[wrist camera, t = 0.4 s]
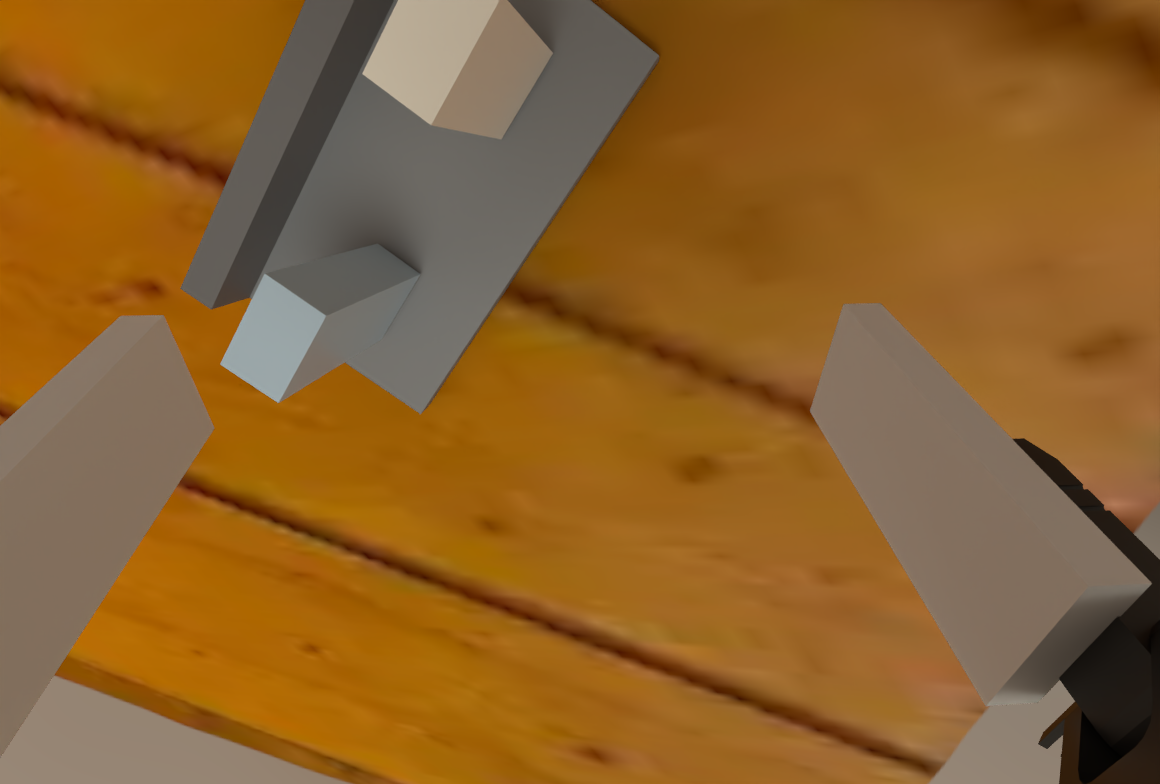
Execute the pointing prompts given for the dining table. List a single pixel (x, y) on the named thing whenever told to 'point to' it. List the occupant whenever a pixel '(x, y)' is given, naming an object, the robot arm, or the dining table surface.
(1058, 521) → the robot arm
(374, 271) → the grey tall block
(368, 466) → the dining table surface
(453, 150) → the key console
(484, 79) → the cream key
